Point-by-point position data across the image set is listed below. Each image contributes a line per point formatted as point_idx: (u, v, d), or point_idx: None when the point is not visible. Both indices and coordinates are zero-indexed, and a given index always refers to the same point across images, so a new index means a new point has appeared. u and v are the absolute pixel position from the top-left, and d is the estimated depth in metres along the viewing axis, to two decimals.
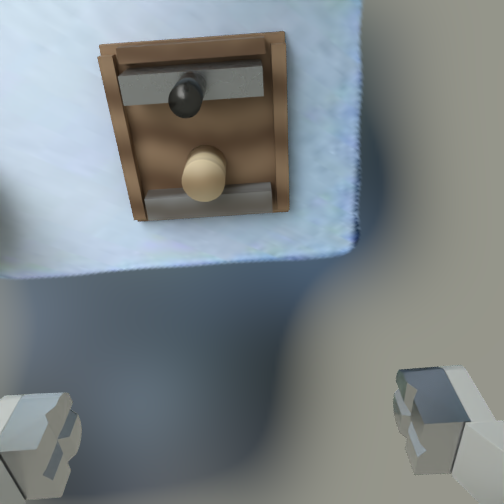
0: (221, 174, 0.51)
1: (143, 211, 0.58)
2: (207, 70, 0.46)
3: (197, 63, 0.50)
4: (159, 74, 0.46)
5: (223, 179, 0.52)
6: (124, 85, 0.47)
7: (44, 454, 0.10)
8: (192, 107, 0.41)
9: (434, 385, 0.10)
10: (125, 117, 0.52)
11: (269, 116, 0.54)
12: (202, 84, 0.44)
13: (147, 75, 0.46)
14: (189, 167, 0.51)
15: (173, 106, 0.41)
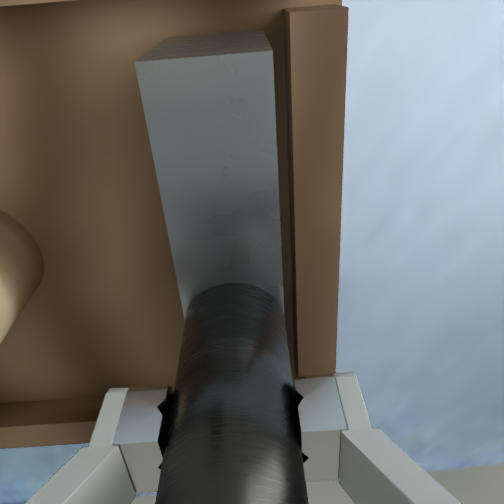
0: None
1: None
2: None
3: None
4: (276, 228, 0.12)
5: None
6: (231, 78, 0.10)
7: (161, 447, 0.09)
8: None
9: (321, 393, 0.10)
10: None
11: None
12: None
13: (273, 182, 0.11)
14: None
15: None
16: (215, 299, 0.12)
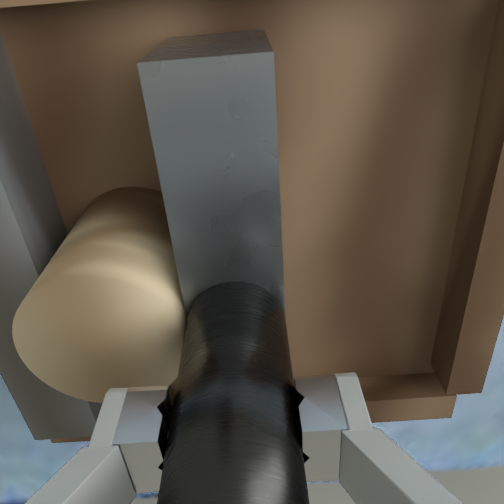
0: None
1: None
2: None
3: None
4: (277, 227, 0.12)
5: None
6: (232, 79, 0.10)
7: (161, 446, 0.09)
8: None
9: (322, 393, 0.10)
10: None
11: None
12: None
13: (274, 181, 0.11)
14: (156, 306, 0.12)
15: None
16: (217, 298, 0.12)
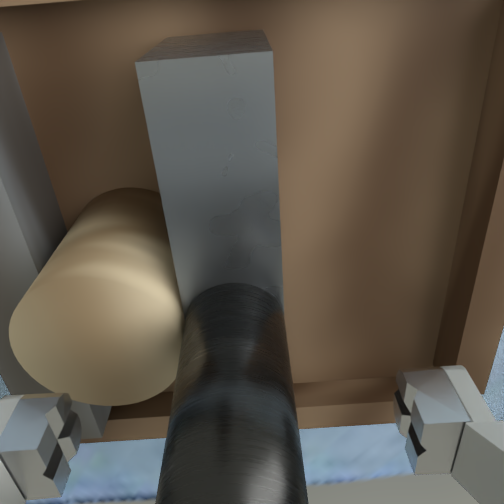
0: (140, 397, 0.14)
1: None
2: None
3: None
4: (276, 228, 0.12)
5: (122, 401, 0.14)
6: (231, 78, 0.10)
7: (44, 454, 0.10)
8: None
9: (434, 385, 0.10)
10: None
11: None
12: None
13: (273, 182, 0.11)
14: (154, 307, 0.12)
15: None
16: (215, 299, 0.12)
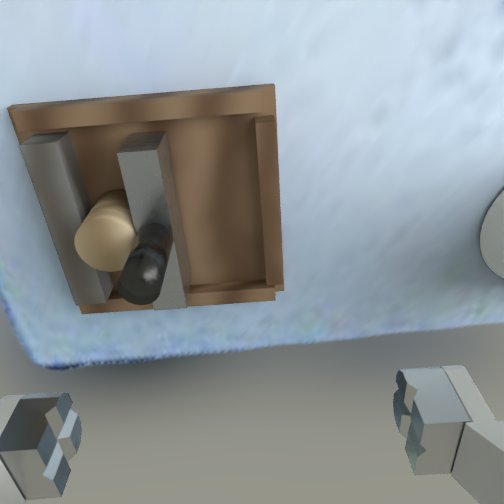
0: (121, 267, 0.38)
1: (31, 128, 0.36)
2: (176, 255, 0.38)
3: (180, 215, 0.41)
4: (165, 202, 0.35)
5: (114, 269, 0.38)
6: (145, 157, 0.33)
7: (44, 454, 0.10)
8: (133, 295, 0.31)
9: (434, 385, 0.10)
10: None
11: (196, 280, 0.46)
12: None
13: (162, 187, 0.35)
14: (124, 230, 0.36)
15: (130, 275, 0.31)
16: (145, 227, 0.36)
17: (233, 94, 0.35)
